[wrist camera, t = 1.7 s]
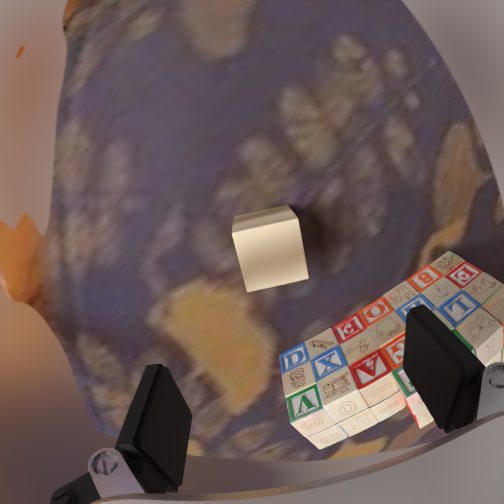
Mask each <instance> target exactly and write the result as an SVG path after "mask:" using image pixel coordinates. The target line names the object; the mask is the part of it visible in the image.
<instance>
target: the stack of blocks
mask: <svg viewBox="0 0 504 504" xmlns="http://www.w3.org/2000/svg"><path fill="white" fill-rule="evenodd" d="M421 304H424V305H426V306H427V307H428V308H429V309H430V310H431V311H432V312H433V313H434V314H435V315H436V316H437V317H438V318H439V319H440V320H441V321H442V322H443V323H444V324H445V325H446V326H447V327H448V328H449V329H450V330H451V331H452V332H453V333H454V334H455V335H456V336H457V337H458V338H459V339H460V340H461V341H462V342H463V343H464V344H465V345H466V346H467V347H468V348H469V349H470V350H471V351H472V352H473V354H474V355H475V356H476V357H477V358H478V359H479V360H480V361H481V362H482V363H483V364H484V365H485V367H487V366H488V365H490V364H492V363H495V362H503V363H504V284H502V283H501V282H499V281H497V279H495V278H493V277H492V276H490V275H488V274H487V273H485V272H483V271H481V270H480V269H478V268H477V267H475V266H473V265H472V264H470V263H468V262H466V261H465V260H464V259H463V258H461V257H459V256H458V255H456V254H454V253H452V252H451V251H448V252H446V253H445V254H444V255H442V256H441V257H440V258H438V259H437V260H435V261H434V262H433V263H431V264H430V265H427V266H426V267H424V268H423V269H422V270H420V271H419V272H417V273H416V274H414V275H413V276H411V277H410V278H408V279H407V280H406V281H404V282H402V283H401V284H399V285H398V286H396V287H395V288H393V289H391V290H390V291H388V292H387V293H385V294H384V295H383V296H382V297H381V298H379V299H377V300H376V301H375V302H373V303H371V304H370V305H368V306H367V307H365V308H363V309H362V310H360V311H359V312H358V313H356V314H354V315H352V316H351V317H349V318H347V319H345V320H344V321H342V322H340V323H339V324H337V325H335V326H334V327H333V328H329V329H327V330H325V331H323V332H321V333H320V334H318V335H316V336H314V337H312V338H310V339H309V340H307V341H305V342H304V343H301V344H299V345H297V346H295V347H294V348H292V349H290V350H288V351H286V352H284V353H282V354H280V355H279V358H280V365H281V373H282V380H283V387H284V393H285V397H286V401H287V407H288V413H289V419H290V423H291V424H292V425H293V426H294V427H295V428H296V429H297V430H298V431H299V432H300V433H301V434H302V435H303V436H305V437H307V438H308V439H309V440H310V441H311V442H312V443H313V444H314V445H315V446H316V447H317V448H319V449H323V448H325V447H327V446H329V445H332V444H334V443H336V442H339V441H341V440H343V439H345V438H347V437H348V436H349V437H350V436H353V435H355V434H357V433H359V432H361V431H363V430H365V429H367V428H369V427H371V426H373V425H375V424H376V423H378V422H380V421H383V420H384V419H386V418H388V417H390V416H391V415H393V414H395V413H396V412H398V411H400V410H401V409H403V408H404V407H405V406H406V405H407V406H408V408H409V410H410V412H411V413H412V415H413V417H414V419H415V421H416V423H417V425H418V426H419V428H422V427H424V426H425V425H427V424H429V423H430V422H432V421H433V420H434V419H433V417H432V416H431V414H430V412H429V411H428V409H427V407H426V406H425V404H424V403H423V401H422V399H421V398H420V396H419V394H418V393H417V391H416V390H415V388H414V386H413V385H412V383H411V382H410V380H409V378H408V377H407V375H406V374H405V372H404V370H403V354H404V342H405V327H406V314H407V313H409V310H410V309H411V308H413V307H416V306H418V305H421Z"/></svg>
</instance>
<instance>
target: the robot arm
mask: <svg viewBox="0 0 504 504" xmlns="http://www.w3.org/2000/svg"><path fill="white" fill-rule="evenodd" d="M403 370H404V372H405V374H406V375H407V377H408V378H409V380H410V382H411V383H412V385H413V386H414V388H415V390H416V391H417V393H418V394H419V396H420V398H421V399H422V401H423V403H424V404H425V406H426V407H427V409H428V411H429V412H430V414H431V416H432V417H433V419H434V421H435V423H436V424H437V426H438V427H439V428H440V429H442V428H443V429H444V431H445V433H446V434H448V433H450V432H451V431H453V430H455V429H457V430H456V431H454V432H452V433H450V434H448V435H446V436H444V437H442V438H440V439H438V440H436V441H433V442H431V443H429V444H427V445H424V446H422V447H420V448H417V449H415V450H413V451H410V452H408V453H405V454H403V455H400V456H398V457H395V458H392V459H390V460H387V461H384V462H381V463H378V464H375V465H372V466H369V467H366V468H363V469H359V470H356V471H353V472H349V473H346V474H342V475H338V476H334V477H330V478H326V479H322V480H317V481H312V482H307V483H303V484H297V485H292V486H285V487H279V488H272V489H265V490H256V491H247V492H234V493H218V494H217V493H216V494H166V492H172V493H177V489H178V486H181V485H182V481H183V474H184V467H185V459H186V453H187V447H188V440H189V434H190V428H191V421H192V414H191V411H190V409H189V407H188V405H187V404H186V402H185V400H184V398H183V396H182V394H181V392H180V391H179V389H178V387H177V385H176V383H175V381H174V379H173V377H172V375H171V373H170V371H169V369H168V368H167V367H164V366H163V365H162V364H153V365H147V366H146V368H145V371H144V373H143V376H142V378H141V381H140V383H139V386H138V388H137V391H136V393H135V396H134V399H133V401H132V402H131V405H130V408H129V410H128V413H127V416H126V418H125V421H124V424H123V427H122V429H121V432H120V435H119V438H118V441H117V443H116V446H115V449H113V448H104V449H101V450H99V451H97V452H96V453H94V454H93V456H92V457H91V458H90V460H89V463H88V469H89V472H88V473H86V474H84V475H83V476H81V477H79V478H77V479H76V480H74V481H72V482H70V483H68V484H67V485H65V486H63V487H61V488H59V489H58V490H56V491H55V492H54V494H53V495H52V497H51V503H50V504H504V363H503V362H495V363H492V364H490V365H488V366H487V367H485V365H484V364H483V363H482V362H481V361H480V360H479V359H478V358H477V357H476V356H475V355H474V354H473V352H472V351H471V350H470V349H469V348H468V347H467V346H466V345H465V344H464V343H463V342H462V341H461V340H460V339H459V338H458V337H457V336H456V335H455V334H454V333H453V332H452V331H451V330H450V329H449V328H448V327H447V326H446V325H445V324H444V323H443V322H442V321H441V320H440V319H439V318H438V317H437V316H436V315H435V314H434V313H433V312H432V311H431V310H430V309H429V308H428V307H427V306H426V305H424V304H421V305H418V306H416V307H413V308H411V309H410V310H409V313H407V314H406V327H405V342H404V354H403Z"/></svg>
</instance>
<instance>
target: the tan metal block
mask: <svg viewBox="0 0 504 504" xmlns="http://www.w3.org/2000/svg"><path fill="white" fill-rule="evenodd" d="M232 236H233V240H234V244H235V247H236V251H237V255H238V259H239V263H240V267H241V270H242V274H243V278H244V282H245V286H246V289H247V292H251V291H255V290H260V289H264V288H269V287H274V286H278V285H283V284H287V283H292V282H296V281H300V280H305V279H309V278H308V272H307V266H306V260H305V254H304V248H303V243H302V237H301V232H300V226H299V221H298V218H297V216H296V215H295V214H294V212H293V211H292V210H291V208H290V207H289V206H288V205H284V206H279V207H275V208H270V209H266V210H261V211H257V212H252V213H248V214H244V215H239V216H235V217H234V222H233V228H232Z"/></svg>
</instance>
